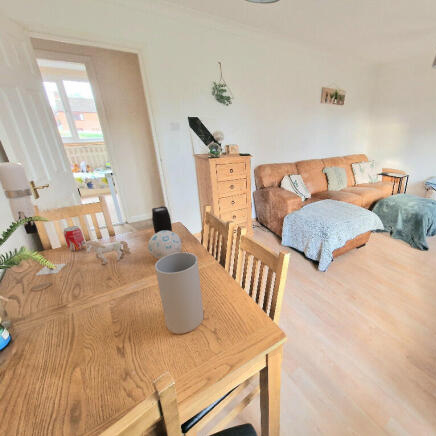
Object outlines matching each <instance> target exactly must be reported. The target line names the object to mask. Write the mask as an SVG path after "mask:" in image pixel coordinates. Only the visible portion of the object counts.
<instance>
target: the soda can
mask: <svg viewBox="0 0 436 436" xmlns="http://www.w3.org/2000/svg"><path fill="white" fill-rule="evenodd" d="M62 233H63V237H64V240H65V243H66V247H67V248H68V250H69V251H71V252H78V251H81V250H84V248H79V247H83V246H84V245H82V244H85V243H86V241H85V238H84V235H83V231H82V229H80V227H79V226H77V225H74V226H72V225H71V226H68V227H65V228H64V229H63V232H62Z"/></svg>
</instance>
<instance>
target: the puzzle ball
mask: <svg viewBox="0 0 436 436" xmlns="http://www.w3.org/2000/svg"><path fill="white" fill-rule="evenodd" d="M182 243H183V242H182V239H181V237H180V236H179V235H178V234H177V233H176V232H175V231H173V230H172V231H160V232H158V233H155V232H154V234H153V235H152V236H151V237H150V238H149V241H148V244H147V249H148V253H149V254H150V255H151V256H152V257H153V258H154V259H157V260H160V259H161V258H163V257H165V256H167V255H170V254H173V253H180V252H181V250H182V245H183V244H182Z"/></svg>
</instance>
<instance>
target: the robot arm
mask: <svg viewBox="0 0 436 436" xmlns="http://www.w3.org/2000/svg"><path fill="white" fill-rule="evenodd" d="M0 185H1V187H2V191H3V193H4V195H5V198H6V199H8V202H9V207H10V211H11V214H12V218H13V220H14V222H19V221H20V220H21V221H22V219H26V218H29V217H33V218H35V215H36V214H37V213H36V209H35V206H34V203H33V199H32V196H33V191H32V189H31V186H30V182H29V179H28V176H27V173H26V170H25V167H24V165H23V164H22V163H20V162H15V161H14V162H12V161H8V162H7V161H5V162H0ZM22 225H23V227H24V230H25V233H26V234H27V235H31V234H37V233H38V228H37V224H36V221H35V220H34V221H29V222H26V223H24V224H22Z"/></svg>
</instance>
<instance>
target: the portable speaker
mask: <svg viewBox="0 0 436 436" xmlns="http://www.w3.org/2000/svg"><path fill="white" fill-rule="evenodd" d="M151 213H152V214H151V221H152V225H153V230H154V231H153V232H154V234H155V233H158V232H160V231H172V232H173V227H172V220H171V219H172V218H171V215H170V212H169V209H168V207H167V206H159V207H153V208H152V209H151Z"/></svg>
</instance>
